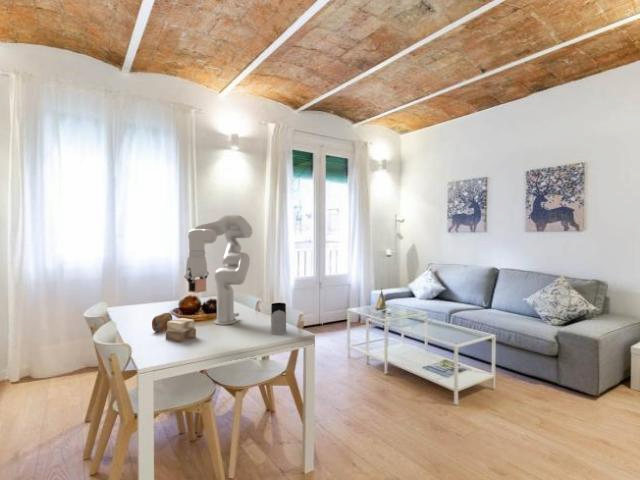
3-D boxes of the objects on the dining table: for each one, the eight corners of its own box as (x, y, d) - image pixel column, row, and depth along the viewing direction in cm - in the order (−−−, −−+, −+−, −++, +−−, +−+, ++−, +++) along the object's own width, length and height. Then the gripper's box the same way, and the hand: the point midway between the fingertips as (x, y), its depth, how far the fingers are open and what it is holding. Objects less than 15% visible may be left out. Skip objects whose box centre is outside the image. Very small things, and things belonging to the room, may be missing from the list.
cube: (197, 290, 193) (197, 278, 193) (206, 291, 190) (206, 279, 190) (188, 291, 188) (188, 279, 188) (197, 292, 185) (197, 280, 185)
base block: (182, 335, 194) (182, 326, 194) (195, 337, 190) (195, 328, 189) (165, 340, 186) (165, 330, 186) (179, 343, 181) (179, 333, 181)
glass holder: (270, 335, 192) (270, 306, 192) (269, 328, 206) (269, 300, 206) (287, 334, 194) (287, 305, 193) (285, 327, 208) (285, 300, 207)
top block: (181, 326, 194) (181, 317, 194) (194, 328, 190) (194, 319, 190) (167, 330, 186) (167, 321, 186) (180, 333, 182) (180, 323, 182)
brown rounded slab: (156, 333, 196) (155, 317, 196) (150, 333, 197) (150, 317, 196) (173, 326, 211) (172, 311, 211) (168, 325, 211) (167, 311, 211)
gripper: (204, 253, 198) (204, 287, 198) (177, 254, 183) (178, 291, 183) (214, 253, 195) (215, 288, 195) (189, 255, 179) (189, 293, 180)
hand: (197, 289), depth 189 cm, fingers closed on cube, 6 cm apart
